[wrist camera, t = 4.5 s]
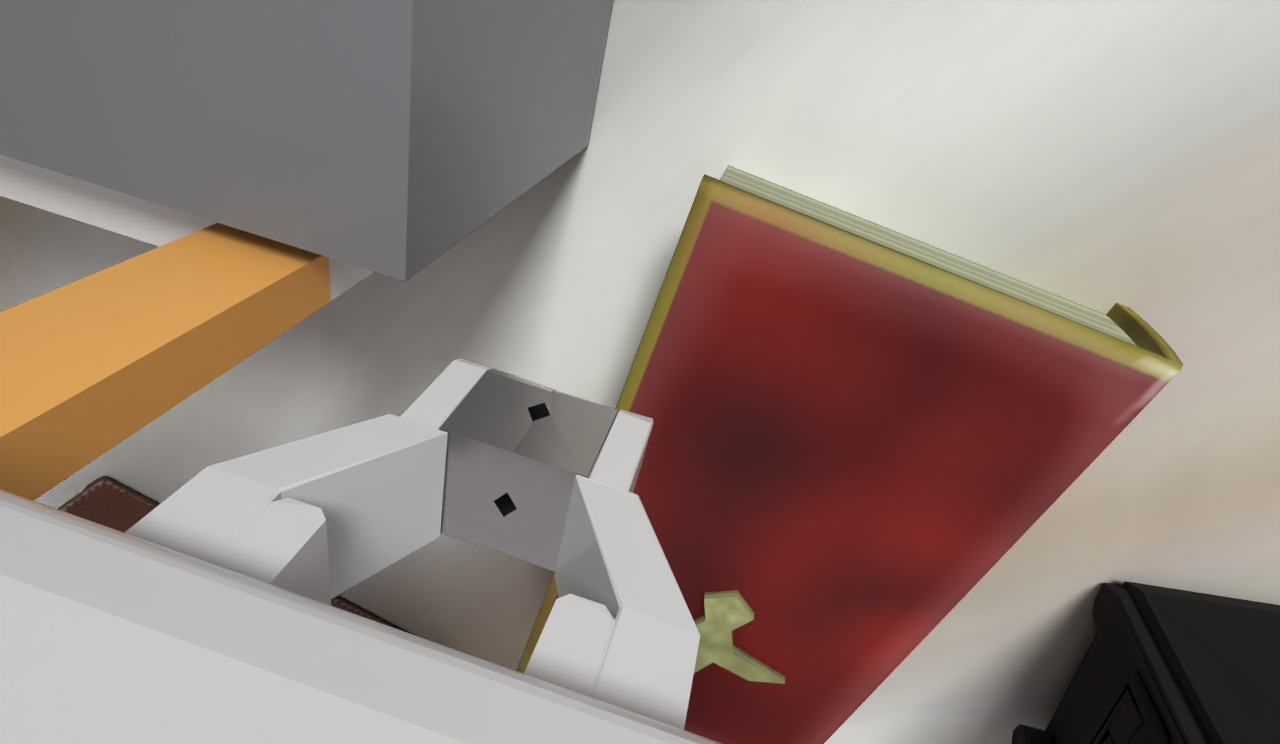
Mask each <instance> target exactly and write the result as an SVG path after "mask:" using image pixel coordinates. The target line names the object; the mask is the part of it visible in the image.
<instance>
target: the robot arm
mask: <svg viewBox="0 0 1280 744" xmlns="http://www.w3.org/2000/svg"><path fill="white" fill-rule="evenodd" d="M652 427H653V418H649V417H646V416H642V415H639V414H635V413H632V412H628V411H625V410H617V409H614V408H611V407H608V406H604V405H601V404H598V403H595V402H591V401H588V400H585V399H582V398H579V397H575V396H572V395H569V394H566V393H562V392H559V391H556V390H555V389H552V388H549V387H546V386H543V385H540V384H537V383H535V382H532V381H529V380H526V379H523V378H520V377H517V376H514V375H511V374H508V373H505V372H502V371H499V370H496V369H494V368H493V369H491V368H489V367H487V366H484V365H481V364H478V363H475V362H472V361H469V360H465V359H462V358H459V359H455V360H453V361H452V362H451V363H450V364H449V365H448V366H447V367H446V368H445V369H444V370H443V371H442V372H441V373H440V374H439V375H438V376H437V378H436V379H435V380H434V381H433V382H432V383H431V384H430V385H429V386H428V387H427V388H426V389H425V390H424V391H423V392H422V393H421V394H420V395H419V396H418V398H417V399H416V400H415V401H414V402H413V403H412V404H411V405H410V406H409V407H408V408H407V409H406V410H405V411H404V412H403V413H402V414H401V415H400V416H395V415H392V414H387V415H383V416H380V417H376V418H373V419H369V420H366V421H362V422H359V423H355V424H352V425H348V426H345V427H342V428H338V429H335V430H331V431H328V432H324V433H321V434H317V435H314V436H310V437H307V438H303V439H300V440H297V441H293V442H290V443H286V444H283V445H279V446H276V447H272V448H269V449H265V450H262V451H258V452H255V453H251V454H248V455H245V456H241V457H238V458H234V459H231V460H227V461H224V462H220V463H217V464H213V465H210V466H207V467H206V468H205V469H203V470H202V471H201V472H200V473H198V474H197V475H196V476H195V477H193V478H192V479H191V480H190V481H188V482H187V483H186V484H185V485H183V486H182V487H181V488H180V489H178V490H177V491H176V492H175V493H173V494H172V495H171V496H170V497H168V498H167V499H166V500H165V501H163V502H162V503H161V504H160V505H158V506H157V507H156V508H155V509H153V510H152V511H151V512H150V513H148V514H147V515H146V516H145V517H143V518H142V519H141V520H140V521H138V522H137V523H136V524H135V525H133V526H132V527H131V528H130V529H128V530H127V531H126V532H125V533H123V532H120V531H118V530H115V529H112V528H109V527H106V526H103V525H101V524H98V523H95V522H92V521H89V520H86V519H84V518H81V517H78V516H75V515H72V514H69V513H67V512H64V511H61V510H58V509H55V508H52V507H50V506H47V505H44V504H41V503H38V502H35V501H32V500H30V499H27V498H24V497H21V496H18V495H15V494H13V493H10V492H7V491H4V490H1V489H0V744H722V743H719V742H716V741H713V740H711V739H708V738H705V737H702V736H699V735H696V734H694V733H691V732H688V731H685V730H684V727H685V721H686V715H687V709H688V703H689V698H690V692H691V686H692V680H693V675H694V669H695V663H696V657H697V652H698V646H699V640H700V634H699V632H698V629H697V627H696V625H695V622H694V620H693V618H692V616H691V613H690V611H689V609H688V607H687V604H686V602H685V600H684V598H683V595H682V593H681V591H680V588H679V586H678V584H677V582H676V579H675V577H674V575H673V573H672V570H671V568H670V566H669V563H668V561H667V559H666V557H665V554H664V552H663V550H662V548H661V545H660V543H659V541H658V539H657V536H656V534H655V532H654V529H653V527H652V525H651V523H650V520H649V518H648V516H647V514H646V511H645V509H644V507H643V504H642V502H641V500H640V498H639V495H637V494H634V493H633V492H634V488H635V485H636V482H637V478H638V475H639V471H640V468H641V465H642V461H643V458H644V454H645V451H646V448H647V444H648V441H649V437H650V434H651V431H652ZM440 533H441V534H444V535H448V536H451V537H454V538H457V539H461V540H464V541H467V542H470V543H474V544H477V545H480V546H483V547H487V548H490V549H493V550H496V551H499V552H502V553H505V554H507V555H510V556H513V557H516V558H518V559H521V560H524V561H526V562H529V563H532V564H534V565H537V566H540V567H543V568H545V569H548V570H551V571H553V572H555V574H554V576H555V581H556V586H557V591H558V596H559V598H558V599H556V601H555V603H554V606H553V608H552V610H551V613H550V615H549V617H548V619H547V622H546V624H545V626H544V629H543V631H542V633H541V635H540V638H539V640H538V642H537V645H536V647H535V649H534V651H533V654H532V656H531V658H530V661H529V663H528V665H527V668H526V670H525V672H524V674H523V673H520V672H517V671H515V670H512V669H509V668H506V667H503V666H500V665H498V664H495V663H492V662H489V661H486V660H483V659H481V658H478V657H475V656H472V655H469V654H466V653H464V652H461V651H458V650H455V649H452V648H449V647H447V646H444V645H441V644H438V643H435V642H432V641H429V640H427V639H424V638H421V637H418V636H415V635H412V634H410V633H407V632H404V631H401V630H398V629H395V628H393V627H390V626H387V625H384V624H381V623H378V622H376V621H373V620H370V619H367V618H364V617H361V616H359V615H356V614H353V613H350V612H347V611H344V610H342V609H339V608H336V607H333V606H331V599H332V598H334V597H336V596H337V595H339V594H341V593H343V592H344V591H346V590H348V589H350V588H351V587H353V586H355V585H357V584H358V583H360V582H362V581H364V580H365V579H367V578H369V577H371V576H372V575H374V574H376V573H378V572H379V571H381V570H383V569H385V568H386V567H388V566H390V565H392V564H393V563H395V562H397V561H399V560H400V559H402V558H404V557H406V556H407V555H409V554H411V553H412V552H414V551H416V550H418V549H419V548H421V547H423V546H425V545H426V544H428V543H430V542H432V541H433V540H435V539H437V538H439V537H440Z"/></svg>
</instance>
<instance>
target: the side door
mask: <svg viewBox="0 0 1280 744" xmlns="http://www.w3.org/2000/svg"><path fill="white" fill-rule="evenodd" d="M0 196H3V197H6V198H9V199H12V200H15V201H18V202H21V203H25V204H28V205H31V206H34V207H37V208H40V209H43V210H46V211H50V212H53V213H56V214H59V215H62V216H65V217H68V218H72V219H75V220H78V221H81V222H84V223H87V224H90V225H93V226H97V227H100V228H103V229H106V230H109V231H112V232H115V233H118V234H122V235H125V236H128V237H131V238H134V239H137V240H140V241H144V242H147V243H150V244H153V245H156V246H159V247H157V248H155V249H152V250H150V251H147V252H145V253H143V254H140V255H138V256H135V257H133V258H130V259H128V260H126V261H123V262H121V263H118V264H116V265H113V266H111V267H109V268H106V269H104V270H101V271H99V272H96V273H94V274H92V275H89V276H87V277H84V278H82V279H79V280H77V281H75V282H72V283H70V284H67V285H65V286H62V287H60V288H58V289H55V290H53V291H50V292H48V293H45V294H43V295H41V296H38V297H36V298H33V299H31V300H28V301H26V302H24V303H21V304H19V305H16V306H14V307H11V308H9V309H7V310H4V311H2V312H0V489H1V490H4V491H7V492H10V493H13V494H15V495H18V496H21V497H24V498H27V499H30V500H32V501H34V500H35V499H37V498H38V497H40V496H41V495H43V494H44V493H46V492H47V491H49V490H50V489H51V488H53V487H54V486H56V485H57V484H59V483H60V482H62V481H63V480H65V479H66V478H68V477H69V476H71V475H72V474H74V473H75V472H77V471H78V470H80V469H81V468H83V467H84V466H86V465H87V464H89V463H90V462H92V461H93V460H95V459H96V458H98V457H99V456H101V455H102V454H104V453H105V452H107V451H108V450H110V449H111V448H113V447H114V446H116V445H117V444H119V443H120V442H122V441H123V440H125V439H126V438H128V437H129V436H131V435H132V434H134V433H135V432H137V431H138V430H140V429H141V428H143V427H144V426H145V425H147V424H148V423H150V422H151V421H153V420H154V419H156V418H157V417H159V416H160V415H162V414H163V413H165V412H166V411H168V410H169V409H171V408H172V407H174V406H175V405H177V404H178V403H180V402H181V401H183V400H184V399H186V398H187V397H189V396H190V395H192V394H193V393H195V392H196V391H198V390H199V389H201V388H202V387H204V386H205V385H207V384H208V383H210V382H211V381H213V380H214V379H216V378H217V377H219V376H220V375H222V374H223V373H225V372H226V371H228V370H229V369H231V368H232V367H234V366H235V365H237V364H238V363H240V362H241V361H242V360H244V359H245V358H247V357H248V356H250V355H251V354H253V353H254V352H256V351H257V350H259V349H260V348H262V347H263V346H265V345H266V344H268V343H269V342H271V341H272V340H274V339H275V338H277V337H278V336H280V335H281V334H283V333H284V332H286V331H287V330H289V329H290V328H292V327H293V326H295V325H296V324H298V323H299V322H301V321H302V320H304V319H305V318H307V317H308V316H310V315H311V314H313V313H314V312H316V311H317V310H319V309H320V308H322V307H323V306H325V305H326V304H328V303H329V302H331V301H332V300H334V299H335V298H337V297H338V296H339V295H341V294H342V293H344V292H345V291H347V290H348V289H350V288H351V287H353V286H354V285H356V284H357V283H359V282H360V281H362V280H363V279H365V278H366V277H368V276H369V275H371V274H372V273H374V272H373V271H370V270H367V269H364V268H361V267H358V266H354V265H351V264H348V263H345V262H342V261H338V260H335V259H332V258H329V257H326V256H323V255H319V254H316V253H313V252H310V251H307V250H303V249H300V248H297V247H294V246H291V245H287V244H284V243H281V242H278V241H275V240H272V239H268V238H265V237H262V236H259V235H256V234H252V233H249V232H246V231H243V230H240V229H237V228H233V227H230V226H227V225H224V224H221V223H217V222H214V221H211V220H208V219H205V218H202V217H198V216H195V215H192V214H189V213H186V212H182V211H179V210H176V209H173V208H170V207H166V206H163V205H160V204H157V203H154V202H151V201H147V200H144V199H141V198H138V197H135V196H131V195H128V194H125V193H122V192H119V191H116V190H112V189H109V188H106V187H103V186H100V185H96V184H93V183H90V182H87V181H84V180H81V179H77V178H74V177H71V176H68V175H65V174H61V173H58V172H55V171H52V170H49V169H45V168H42V167H39V166H36V165H33V164H30V163H26V162H23V161H20V160H17V159H14V158H10V157H7V156H4V155H1V154H0Z"/></svg>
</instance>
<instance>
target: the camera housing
mask: <svg viewBox="0 0 1280 744" xmlns="http://www.w3.org/2000/svg"><path fill="white" fill-rule="evenodd" d="M613 1H614V0H0V154H1V155H4V156H7V157H10V158H14V159H17V160H20V161H23V162H26V163H30V164H33V165H36V166H39V167H42V168H45V169H49V170H52V171H55V172H58V173H61V174H65V175H68V176H71V177H74V178H77V179H81V180H84V181H87V182H90V183H93V184H96V185H100V186H103V187H106V188H109V189H112V190H116V191H119V192H122V193H125V194H128V195H131V196H135V197H138V198H141V199H144V200H147V201H151V202H154V203H157V204H160V205H163V206H166V207H170V208H173V209H176V210H179V211H182V212H186V213H189V214H192V215H195V216H198V217H202V218H205V219H208V220H211V221H214V222H217V223H221V224H224V225H227V226H230V227H233V228H237V229H240V230H243V231H246V232H249V233H252V234H256V235H259V236H262V237H265V238H268V239H272V240H275V241H278V242H281V243H284V244H287V245H291V246H294V247H297V248H300V249H303V250H307V251H310V252H313V253H316V254H319V255H323V256H326V257H329V258H332V259H335V260H338V261H342V262H345V263H348V264H351V265H354V266H358V267H361V268H364V269H367V270H370V271H373V272H377V273H380V274H383V275H386V276H389V277H393V278H396V279H399V280H402V281H407V280H408V279H409V278H411V277H412V276H413V275H415V274H416V273H417V272H419V271H420V270H422V269H423V268H424V267H426V266H427V265H428V264H430V263H431V262H432V261H434V260H435V259H436V258H438V257H439V256H440V255H442V254H443V253H444V252H446V251H447V250H448V249H450V248H451V247H452V246H454V245H455V244H456V243H458V242H459V241H461V240H462V239H463V238H465V237H466V236H467V235H469V234H470V233H471V232H473V231H474V230H475V229H477V228H478V227H479V226H481V225H482V224H483V223H485V222H486V221H487V220H489V219H490V218H491V217H493V216H494V215H495V214H497V213H498V212H500V211H501V210H502V209H504V208H505V207H506V206H508V205H509V204H510V203H512V202H513V201H514V200H516V199H517V198H518V197H520V196H521V195H522V194H524V193H525V192H526V191H528V190H529V189H530V188H532V187H533V186H534V185H536V184H537V183H538V182H540V181H541V180H543V179H544V178H545V177H547V176H548V175H549V174H551V173H552V172H553V171H555V170H556V169H557V168H559V167H560V166H561V165H563V164H564V163H565V162H567V161H568V160H569V159H571V158H572V157H573V156H575V155H576V154H577V153H579V152H580V151H582V150H583V149H584V148H586V147H587V146H588V145H589V139H590V133H591V127H592V122H593V116H594V110H595V104H596V99H597V93H598V87H599V81H600V76H601V70H602V64H603V58H604V53H605V47H606V41H607V35H608V30H609V24H610V18H611V12H612V7H613Z"/></svg>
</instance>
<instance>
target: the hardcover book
mask: <svg viewBox="0 0 1280 744" xmlns="http://www.w3.org/2000/svg"><path fill="white" fill-rule="evenodd" d="M1182 365H1183V364H1182V362H1181V361H1180V359H1179V358H1178V356H1177V355H1176V353H1175V352H1174V351H1173V349H1172V348H1171V347H1170V346H1169V345H1168V344H1167V343H1166V341H1165V340H1164V339H1163V338H1162V337H1161V336H1160V335H1159V334H1158V333H1157V332H1156V331H1155V330H1154V329H1153V328H1152V327H1151V326H1150V325H1149V324H1148V323H1147V322H1145V321H1144V320H1143V319H1142V318H1141V317H1140V316H1138V315H1137V314H1136V313H1135V312H1134V311H1133V310H1131V309H1130V308H1128V307H1125V306H1123V305H1120V304H1118V303H1116V304H1115V305H1114V306H1113V308H1112V309H1111V310H1110V311H1109V312H1108V314H1107V315H1105V314H1102V313H1100V312H1097V311H1095V310H1092V309H1090V308H1087V307H1085V306H1082V305H1080V304H1077V303H1075V302H1072V301H1070V300H1067V299H1065V298H1062V297H1059V296H1057V295H1054V294H1052V293H1049V292H1047V291H1044V290H1042V289H1039V288H1037V287H1034V286H1032V285H1029V284H1027V283H1024V282H1022V281H1019V280H1017V279H1014V278H1012V277H1009V276H1006V275H1004V274H1001V273H999V272H996V271H994V270H991V269H989V268H986V267H984V266H981V265H979V264H976V263H974V262H971V261H969V260H966V259H964V258H961V257H958V256H956V255H953V254H951V253H948V252H946V251H943V250H941V249H938V248H936V247H933V246H931V245H928V244H926V243H923V242H921V241H918V240H916V239H913V238H910V237H908V236H905V235H903V234H900V233H898V232H895V231H893V230H890V229H888V228H885V227H883V226H880V225H878V224H875V223H873V222H870V221H868V220H865V219H862V218H860V217H857V216H855V215H852V214H850V213H847V212H845V211H842V210H840V209H837V208H835V207H832V206H830V205H827V204H825V203H822V202H820V201H817V200H815V199H812V198H809V197H807V196H804V195H802V194H799V193H797V192H794V191H792V190H789V189H787V188H784V187H782V186H779V185H777V184H774V183H772V182H769V181H767V180H764V179H761V178H759V177H756V176H754V175H751V174H749V173H746V172H744V171H741V170H739V169H736V168H734V167H731V166H729V165H728V167H727V169H726V171H725V174H724V176H723V178H722V180H721V181H720V180H717V179H715V178H712V177H710V176H707V175H704V176H703V178H702V181H701V183H700V186H699V189H698V191H697V194H696V196H695V199H694V202H693V204H692V207H691V210H690V212H689V215H688V218H687V220H686V223H685V226H684V228H683V231H682V234H681V236H680V239H679V242H678V244H677V247H676V250H675V252H674V255H673V257H672V260H671V263H670V265H669V268H668V271H667V273H666V276H665V279H664V281H663V284H662V287H661V289H660V292H659V295H658V297H657V300H656V303H655V305H654V308H653V311H652V313H651V316H650V318H649V321H648V324H647V326H646V329H645V332H644V334H643V337H642V340H641V342H640V345H639V348H638V350H637V353H636V356H635V358H634V361H633V364H632V366H631V369H630V372H629V374H628V377H627V380H626V382H625V385H624V387H623V390H622V393H621V395H620V398H619V401H618V403H617V406H616V409H617V410H625V411H628V412H632V413H635V414H639V415H642V416H646V417H649V418H653V427H652V431H651V434H650V437H649V441H648V444H647V448H646V451H645V454H644V458H643V461H642V465H641V468H640V471H639V475H638V478H637V482H636V485H635V488H634V492H633V493H634V494H637V495H639V498H640V500H641V502H642V504H643V507H644V509H645V511H646V514H647V516H648V518H649V520H650V523H651V525H652V527H653V529H654V532H655V534H656V536H657V539H658V541H659V543H660V545H661V548H662V550H663V552H664V554H665V557H666V559H667V561H668V563H669V566H670V568H671V570H672V573H673V575H674V577H675V579H676V582H677V584H678V586H679V588H680V591H681V593H682V595H683V598H684V600H685V602H686V604H687V607H688V609H689V611H690V613H691V616H692V618H693V620H694V622H695V625H696V627H697V629H698V632H699V634H700V640H699V646H698V652H697V657H696V663H695V669H694V675H693V680H692V686H691V692H690V698H689V703H688V709H687V715H686V721H685V727H684V730H685V731H688V732H691V733H694V734H696V735H699V736H702V737H705V738H708V739H711V740H713V741H716V742H719V743H722V744H824V743H825V742H826V741H827V740H828V739H829V738H830V737H831V735H832V734H833V733H834V732H835V731H836V730H837V729H838V728H839V727H840V726H841V725H842V724H843V723H844V722H845V721H846V720H847V719H848V718H849V717H850V716H851V715H852V713H853V712H854V711H855V710H856V709H857V708H858V707H859V706H860V705H861V704H862V703H863V702H864V701H865V700H866V699H867V698H868V697H869V696H870V695H871V694H872V693H873V691H874V690H875V689H876V688H877V687H878V686H879V685H880V684H881V683H882V682H883V681H884V680H885V679H886V678H887V677H888V676H889V675H890V674H891V673H892V672H893V670H894V669H895V668H896V667H897V666H898V665H899V664H900V663H901V662H902V661H903V660H904V659H905V658H906V657H907V656H908V655H909V654H910V653H911V652H912V651H913V650H914V648H915V647H916V646H917V645H918V644H919V643H920V642H921V641H922V640H923V639H924V638H925V637H926V636H927V635H928V634H929V633H930V632H931V631H932V630H933V629H934V628H935V626H936V625H937V624H938V623H939V622H940V621H941V620H942V619H943V618H944V617H945V616H946V615H947V614H948V613H949V612H950V611H951V610H952V609H953V608H954V607H955V606H956V604H957V603H958V602H959V601H960V600H961V599H962V598H963V597H964V596H965V595H966V594H967V593H968V592H969V591H970V590H971V589H972V588H973V587H974V586H975V585H976V584H977V582H978V581H979V580H980V579H981V578H982V577H983V576H984V575H985V574H986V573H987V572H988V571H989V570H990V569H991V568H992V567H993V566H994V565H995V564H996V563H997V562H998V560H999V559H1000V558H1001V557H1002V556H1003V555H1004V554H1005V553H1006V552H1007V551H1008V550H1009V549H1010V548H1011V547H1012V546H1013V545H1014V544H1015V543H1016V542H1017V541H1018V539H1019V538H1020V537H1021V536H1022V535H1023V534H1024V533H1025V532H1026V531H1027V530H1028V529H1029V528H1030V527H1031V526H1032V525H1033V524H1034V523H1035V522H1036V521H1037V520H1038V519H1039V517H1040V516H1041V515H1042V514H1043V513H1044V512H1045V511H1046V510H1047V509H1048V508H1049V507H1050V506H1051V505H1052V504H1053V503H1054V502H1055V501H1056V500H1057V499H1058V498H1059V497H1060V495H1061V494H1062V493H1063V492H1064V491H1065V490H1066V489H1067V488H1068V487H1069V486H1070V485H1071V484H1072V483H1073V482H1074V481H1075V480H1076V479H1077V478H1078V477H1079V476H1080V475H1081V473H1082V472H1083V471H1084V470H1085V469H1086V468H1087V467H1088V466H1089V465H1090V464H1091V463H1092V462H1093V461H1094V460H1095V459H1096V458H1097V457H1098V456H1099V455H1100V454H1101V453H1102V451H1103V450H1104V449H1105V448H1106V447H1107V446H1108V445H1109V444H1110V443H1111V442H1112V441H1113V440H1114V439H1115V438H1116V437H1117V436H1118V435H1119V434H1120V433H1121V432H1122V430H1123V429H1124V428H1125V427H1126V426H1127V425H1128V424H1129V423H1130V422H1131V421H1132V420H1133V419H1134V418H1135V417H1136V416H1137V415H1138V414H1139V413H1140V412H1141V411H1142V410H1143V408H1144V407H1145V406H1146V405H1147V404H1148V403H1149V402H1150V401H1151V400H1152V399H1153V398H1154V397H1155V396H1156V395H1157V394H1158V393H1159V392H1160V391H1161V390H1162V389H1163V388H1164V386H1165V385H1166V384H1167V383H1168V382H1169V381H1170V380H1171V379H1172V378H1173V377H1174V376H1175V375H1176V374H1177V373H1178V372H1179V371H1180V370H1181V368H1182ZM554 574H555V572H554V573H553V576H552V578H551V581H550V584H549V586H548V589H547V592H546V594H545V597H544V600H543V602H542V605H541V608H540V610H539V613H538V616H537V618H536V621H535V624H534V626H533V629H532V631H531V634H530V637H529V639H528V642H527V645H526V647H525V650H524V653H523V655H522V658H521V661H520V663H519V666H518V669H517V672H520V673H523V674H524V672H525V670H526V668H527V665H528V663H529V661H530V658H531V656H532V654H533V651H534V649H535V647H536V645H537V642H538V640H539V638H540V635H541V633H542V631H543V629H544V626H545V624H546V622H547V619H548V617H549V615H550V613H551V610H552V608H553V606H554V603H555V601H556V599H558V598H559V596H558V591H557V586H556V581H555V576H554Z"/></svg>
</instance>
